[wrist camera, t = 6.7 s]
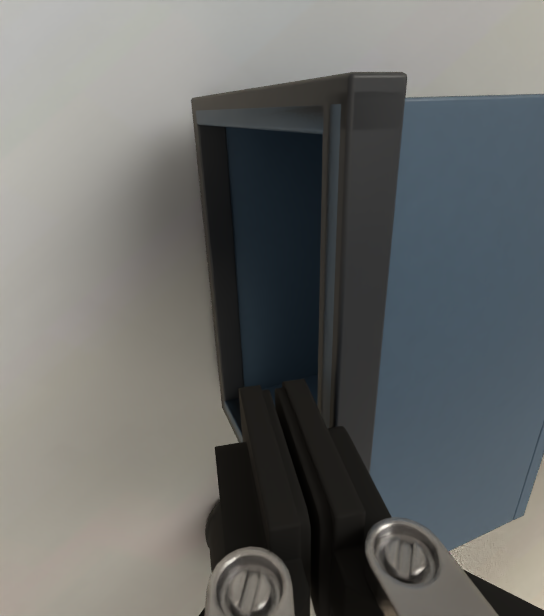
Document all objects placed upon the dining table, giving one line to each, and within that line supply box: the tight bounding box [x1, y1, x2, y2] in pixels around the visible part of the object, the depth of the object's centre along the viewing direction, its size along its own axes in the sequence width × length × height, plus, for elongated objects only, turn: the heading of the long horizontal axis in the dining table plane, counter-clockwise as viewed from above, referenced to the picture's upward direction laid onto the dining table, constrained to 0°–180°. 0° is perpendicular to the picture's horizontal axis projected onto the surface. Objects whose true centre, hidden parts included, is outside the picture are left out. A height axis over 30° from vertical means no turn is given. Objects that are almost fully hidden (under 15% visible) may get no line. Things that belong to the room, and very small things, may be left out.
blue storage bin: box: [191, 72, 544, 551], centre depth 17 cm, size 9×16×12 cm, turn 2°
